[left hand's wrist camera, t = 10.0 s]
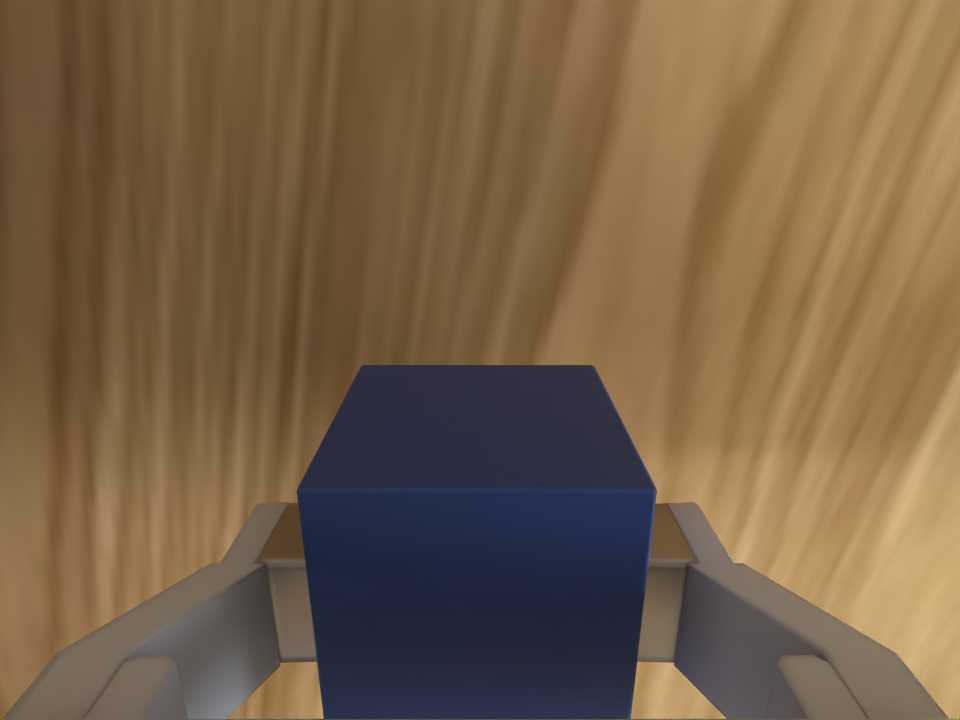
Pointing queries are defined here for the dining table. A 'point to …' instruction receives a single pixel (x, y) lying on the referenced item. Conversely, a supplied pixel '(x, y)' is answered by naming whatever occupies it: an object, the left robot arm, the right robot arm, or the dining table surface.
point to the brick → (477, 546)
